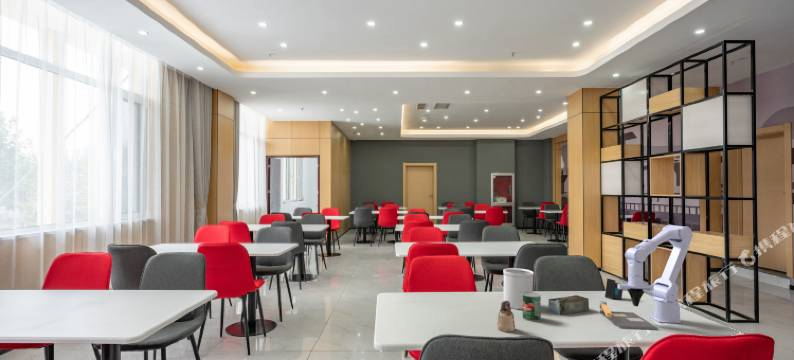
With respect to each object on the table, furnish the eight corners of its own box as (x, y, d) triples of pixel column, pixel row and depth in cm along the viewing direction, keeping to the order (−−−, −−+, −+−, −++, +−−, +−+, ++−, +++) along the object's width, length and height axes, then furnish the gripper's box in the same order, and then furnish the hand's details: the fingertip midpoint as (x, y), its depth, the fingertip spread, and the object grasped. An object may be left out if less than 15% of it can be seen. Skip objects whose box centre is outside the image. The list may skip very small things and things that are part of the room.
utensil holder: (529, 302, 211) (529, 268, 211) (536, 310, 196) (536, 274, 196) (500, 301, 212) (501, 267, 213) (505, 309, 197) (505, 273, 198)
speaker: (609, 299, 217) (611, 280, 218) (604, 297, 223) (606, 278, 224) (624, 301, 217) (625, 281, 217) (618, 298, 222) (620, 279, 223)
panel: (632, 314, 192) (632, 309, 192) (657, 329, 171) (657, 324, 171) (599, 312, 194) (599, 307, 194) (619, 328, 173) (619, 322, 173)
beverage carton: (547, 310, 197) (547, 297, 197) (576, 306, 204) (577, 293, 204) (559, 315, 190) (559, 301, 190) (589, 311, 197) (590, 297, 197)
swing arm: (599, 306, 194) (599, 301, 194) (606, 307, 193) (606, 301, 194) (605, 317, 178) (605, 311, 178) (613, 318, 177) (613, 312, 177)
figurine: (511, 326, 173) (512, 298, 173) (517, 332, 166) (517, 303, 166) (495, 326, 173) (495, 298, 173) (500, 332, 166) (500, 302, 166)
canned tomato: (542, 317, 185) (542, 293, 186) (538, 322, 179) (538, 297, 179) (524, 314, 189) (524, 291, 190) (520, 319, 183) (520, 294, 183)
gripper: (647, 273, 184) (647, 303, 184) (614, 272, 186) (614, 302, 185) (656, 277, 177) (656, 308, 177) (621, 276, 179) (621, 306, 178)
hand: (635, 305), depth 181 cm, fingers closed
